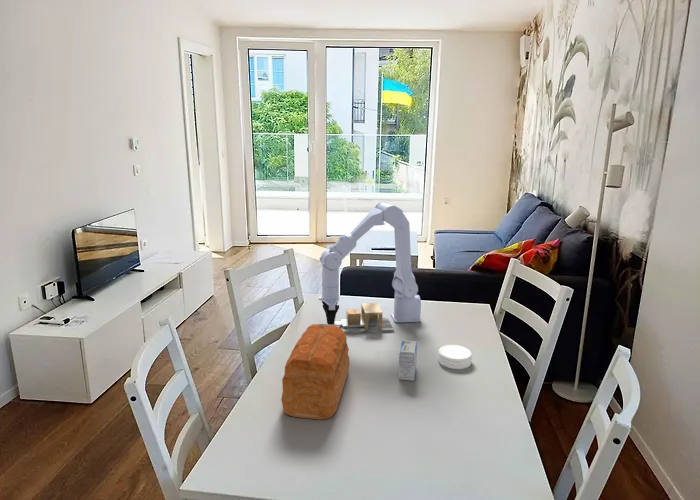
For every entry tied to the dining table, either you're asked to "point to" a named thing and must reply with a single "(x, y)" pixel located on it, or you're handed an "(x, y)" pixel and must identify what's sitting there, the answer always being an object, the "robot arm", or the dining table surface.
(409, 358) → the medicine box
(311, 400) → the bread
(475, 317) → the dining table surface
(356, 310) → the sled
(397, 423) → the dining table surface
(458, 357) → the coaster
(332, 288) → the robot arm
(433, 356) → the dining table surface
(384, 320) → the track
